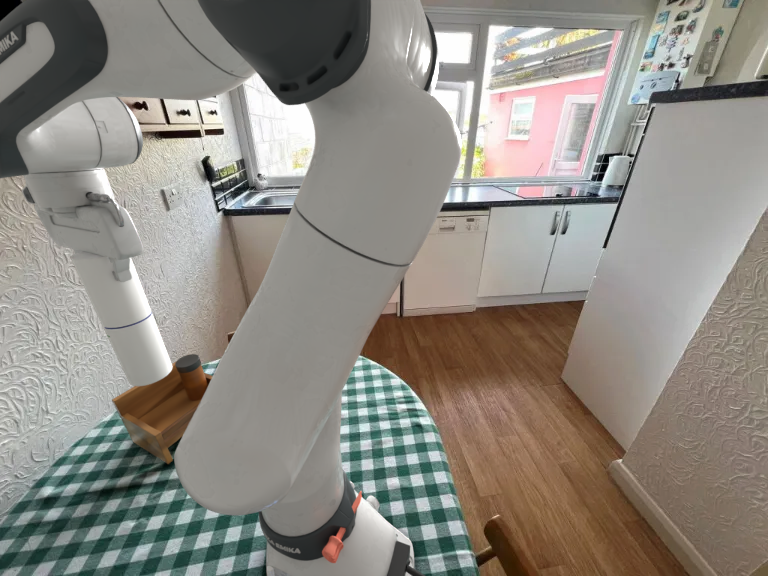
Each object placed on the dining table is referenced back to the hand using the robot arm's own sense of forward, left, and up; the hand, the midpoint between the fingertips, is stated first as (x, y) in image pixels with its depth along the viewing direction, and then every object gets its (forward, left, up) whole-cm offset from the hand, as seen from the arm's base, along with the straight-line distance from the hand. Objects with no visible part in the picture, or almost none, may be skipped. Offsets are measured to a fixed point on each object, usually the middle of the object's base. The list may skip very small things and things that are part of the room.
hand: (110, 276), depth 53 cm
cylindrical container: (0, 0, -21) cm, 21 cm away
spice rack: (0, -3, -37) cm, 37 cm away
